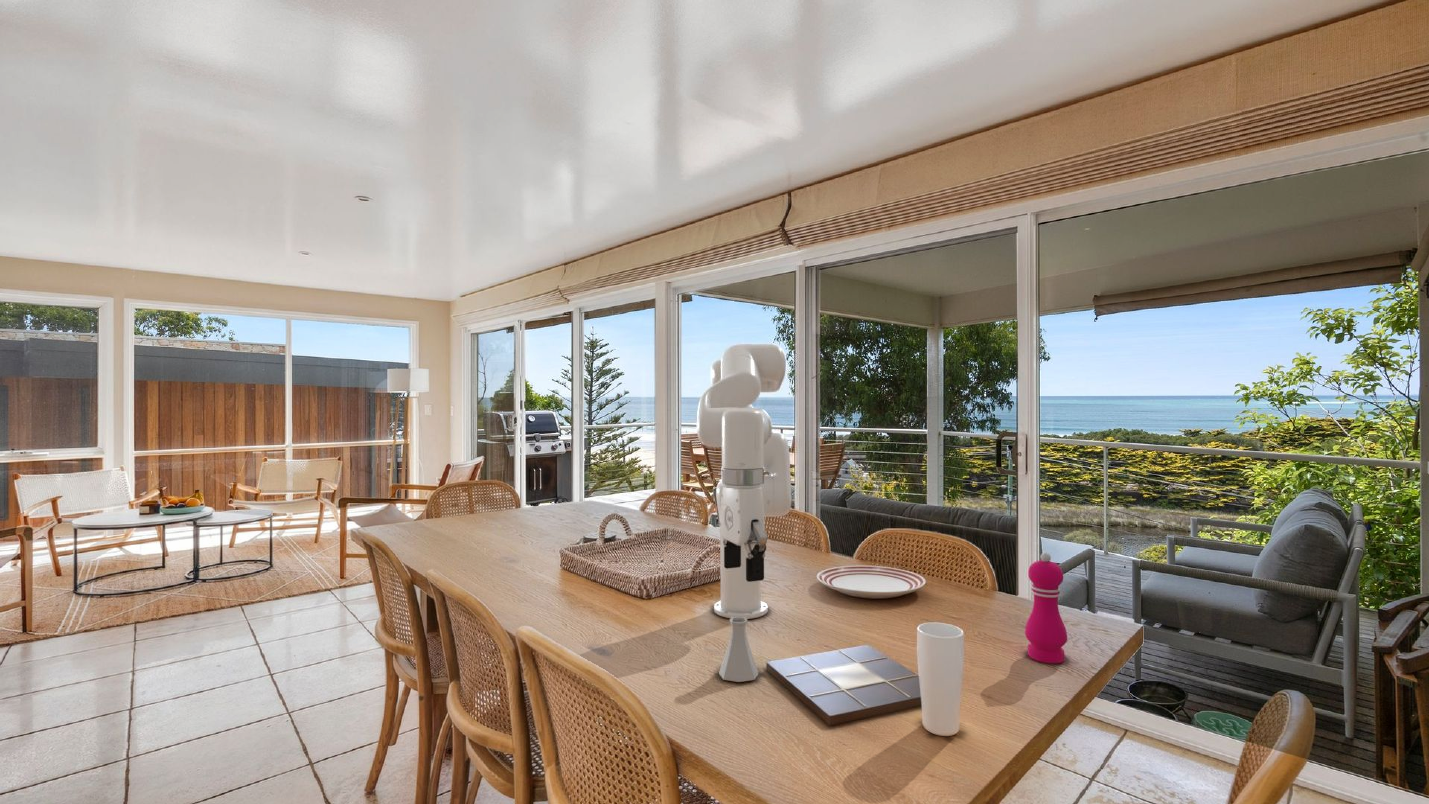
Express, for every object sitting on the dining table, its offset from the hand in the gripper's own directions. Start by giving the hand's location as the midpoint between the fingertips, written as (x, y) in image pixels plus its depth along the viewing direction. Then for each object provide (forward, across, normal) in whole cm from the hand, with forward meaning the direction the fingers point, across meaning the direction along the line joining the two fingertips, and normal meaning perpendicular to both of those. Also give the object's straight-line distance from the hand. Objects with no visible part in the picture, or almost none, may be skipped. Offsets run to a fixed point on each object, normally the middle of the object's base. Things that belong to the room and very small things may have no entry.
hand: (743, 573), depth 117 cm
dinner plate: (+18, -36, +52) cm, 66 cm away
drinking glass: (+19, +28, +20) cm, 39 cm away
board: (+19, +10, +16) cm, 26 cm away
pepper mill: (+19, +14, +57) cm, 62 cm away
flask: (+19, -2, 0) cm, 19 cm away
